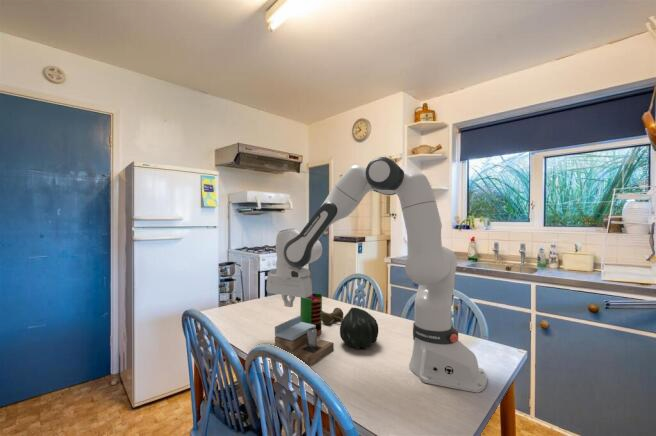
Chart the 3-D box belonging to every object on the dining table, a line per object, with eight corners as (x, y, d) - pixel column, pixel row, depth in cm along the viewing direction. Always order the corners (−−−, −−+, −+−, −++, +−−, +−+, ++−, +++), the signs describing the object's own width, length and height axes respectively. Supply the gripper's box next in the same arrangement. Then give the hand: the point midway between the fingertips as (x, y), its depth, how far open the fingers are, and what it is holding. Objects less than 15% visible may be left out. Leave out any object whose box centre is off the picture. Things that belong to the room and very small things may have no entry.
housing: (333, 349, 109) (333, 333, 109) (311, 365, 97) (311, 347, 97) (299, 339, 118) (299, 324, 118) (274, 353, 106) (274, 336, 106)
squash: (390, 328, 115) (366, 296, 120) (377, 344, 102) (350, 308, 107) (365, 346, 121) (342, 315, 125) (349, 364, 108) (325, 328, 112)
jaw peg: (318, 354, 105) (318, 329, 105) (313, 358, 102) (313, 332, 102) (310, 352, 107) (310, 327, 107) (305, 356, 104) (305, 330, 104)
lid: (315, 327, 113) (315, 319, 113) (292, 340, 102) (292, 331, 102) (299, 323, 118) (299, 315, 118) (274, 335, 106) (274, 326, 106)
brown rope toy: (318, 314, 150) (349, 322, 137) (304, 319, 143) (336, 329, 130) (318, 302, 150) (349, 309, 137) (304, 307, 143) (335, 315, 130)
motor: (318, 339, 119) (318, 288, 118) (296, 337, 120) (296, 287, 120) (323, 329, 129) (323, 283, 128) (303, 327, 130) (303, 282, 130)
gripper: (262, 270, 118) (263, 305, 118) (304, 273, 107) (304, 312, 107) (273, 267, 124) (273, 301, 123) (313, 271, 113) (314, 307, 113)
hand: (288, 306), depth 115 cm, fingers closed
